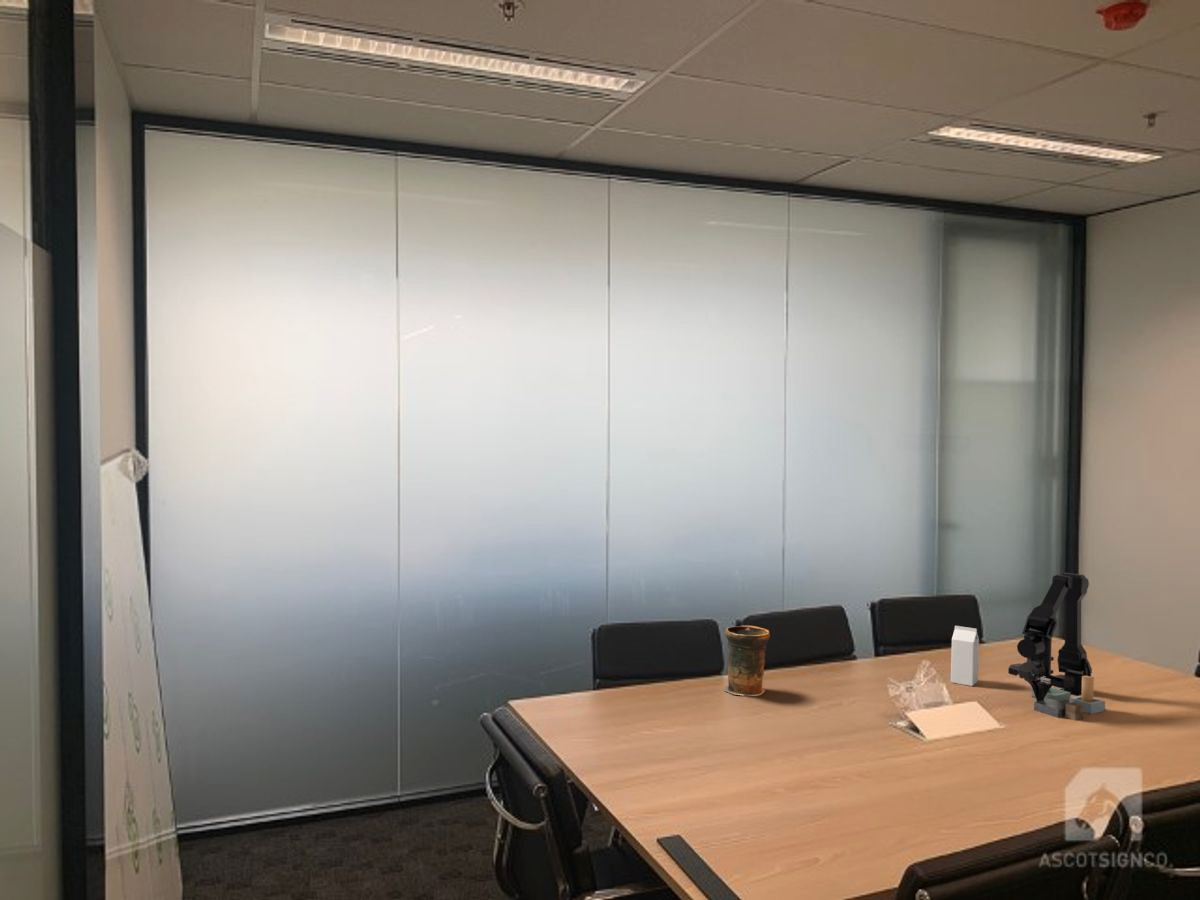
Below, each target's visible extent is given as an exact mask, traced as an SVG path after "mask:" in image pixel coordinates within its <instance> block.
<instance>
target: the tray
mask: <svg viewBox="0 0 1200 900" xmlns="http://www.w3.org/2000/svg"><path fill="white" fill-rule="evenodd" d="M1071 695H1072V694H1071V693H1070V692H1067V691H1063V690H1060V688H1057V687H1053V686H1052V687H1051V688H1050V689H1049V691H1048V693H1047V694H1046V696H1045V698H1044V700H1046V699H1054V700H1057V701H1060V702H1064V703H1066V702H1069V701H1070V698H1071ZM1031 698H1035V699H1036V697H1035V694H1034V691H1033V689H1032V688H1031Z"/></svg>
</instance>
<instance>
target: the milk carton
mask: <svg viewBox="0 0 1200 900" xmlns="http://www.w3.org/2000/svg"><path fill="white" fill-rule="evenodd" d="M977 631H978V629H977V628H973V627H966V626H960V625H954V630H953V634H952V637H951V655H950V657H951V659H950V660H951V661H950V683H953V684H959V685H964V686H969V687H970V686H971V687H973V686H974V685H976V684H977V683H978V681H979V655H980V654H979V652H980V651H979V648H980V637H979V635H978V632H977Z"/></svg>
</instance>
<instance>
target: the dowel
mask: <svg viewBox="0 0 1200 900" xmlns="http://www.w3.org/2000/svg"><path fill="white" fill-rule="evenodd" d="M1094 681H1095V678H1094V676H1092V675H1091V676H1082V695H1080V696H1081V700H1083V701H1086V702H1090V703H1091V702H1093V698H1094V686H1095V683H1094Z"/></svg>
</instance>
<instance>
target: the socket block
mask: <svg viewBox="0 0 1200 900" xmlns="http://www.w3.org/2000/svg"><path fill="white" fill-rule="evenodd" d="M1068 702H1069V703H1073V702H1075V703H1078V704H1082V705H1083V713H1087V714H1091V715H1092V714H1097V713H1102V712H1105V711H1106V701H1105V700H1102V699H1099V698H1095V697H1093V702H1091V703H1090V702H1086V701H1083V700H1081V695H1075V696H1070V701H1068Z"/></svg>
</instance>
